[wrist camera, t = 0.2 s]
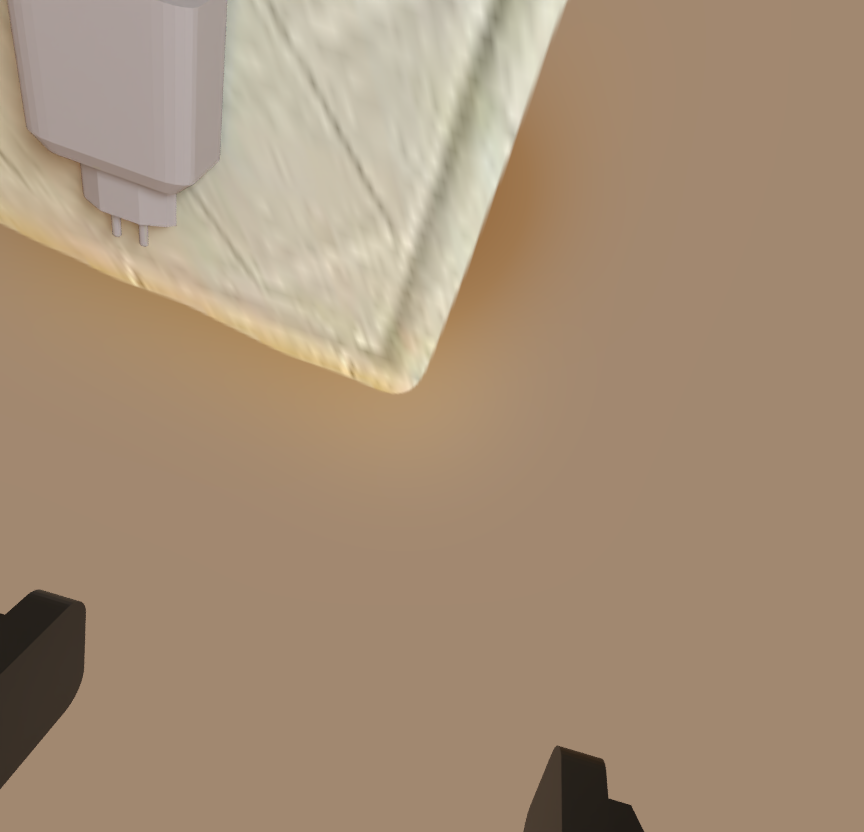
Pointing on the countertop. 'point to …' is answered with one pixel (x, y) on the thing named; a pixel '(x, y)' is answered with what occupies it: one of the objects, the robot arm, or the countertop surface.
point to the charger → (125, 96)
